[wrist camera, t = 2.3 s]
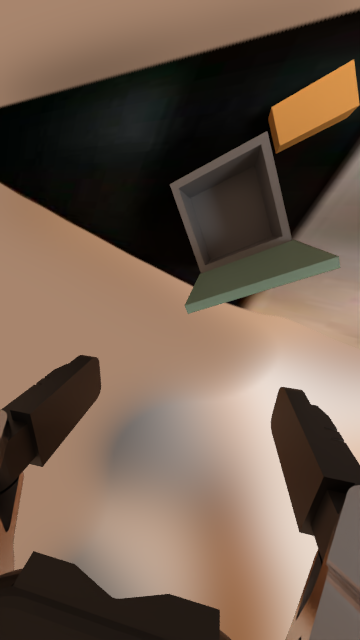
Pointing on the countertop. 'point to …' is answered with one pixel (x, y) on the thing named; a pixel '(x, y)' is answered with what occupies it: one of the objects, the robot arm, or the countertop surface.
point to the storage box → (233, 205)
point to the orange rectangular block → (314, 107)
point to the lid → (259, 274)
